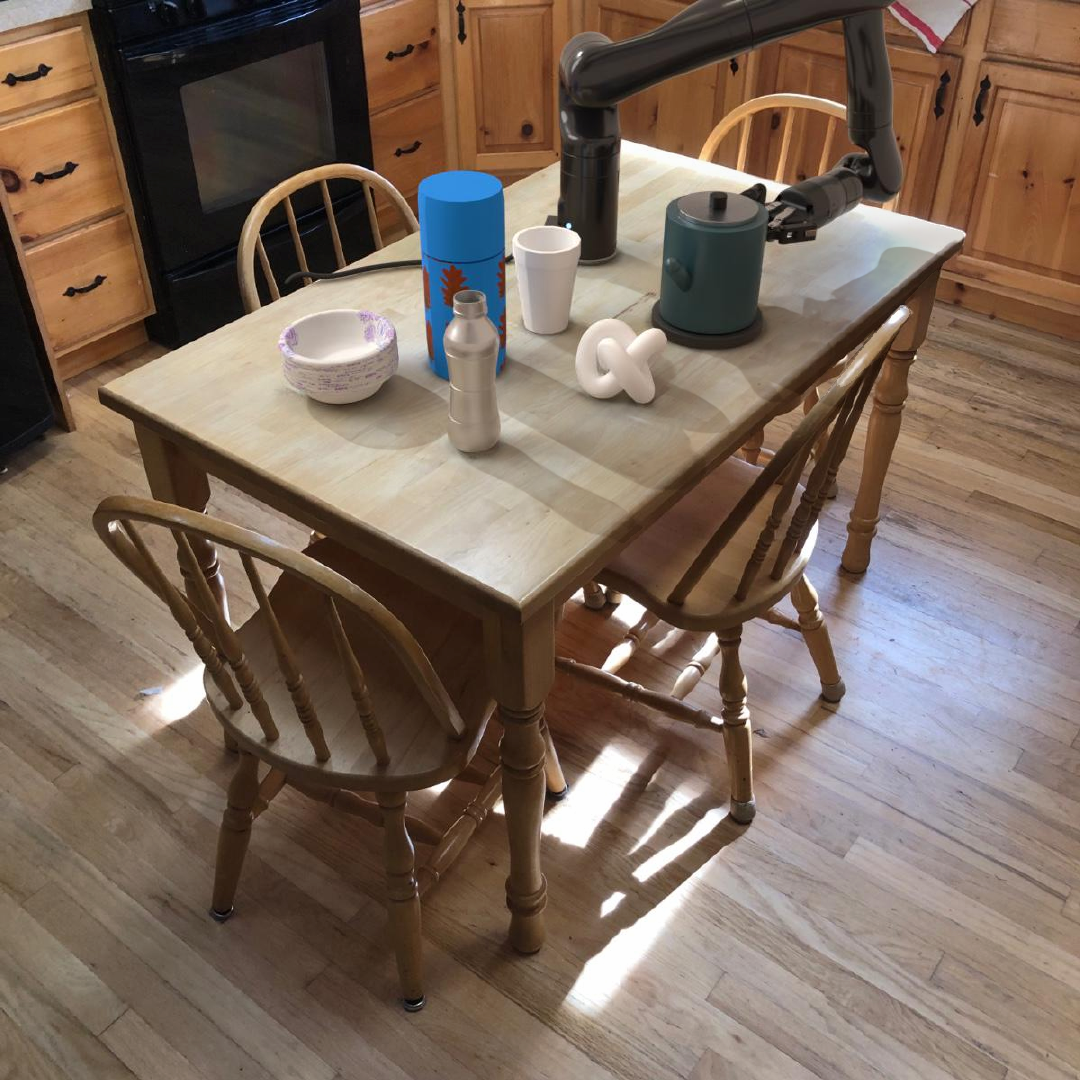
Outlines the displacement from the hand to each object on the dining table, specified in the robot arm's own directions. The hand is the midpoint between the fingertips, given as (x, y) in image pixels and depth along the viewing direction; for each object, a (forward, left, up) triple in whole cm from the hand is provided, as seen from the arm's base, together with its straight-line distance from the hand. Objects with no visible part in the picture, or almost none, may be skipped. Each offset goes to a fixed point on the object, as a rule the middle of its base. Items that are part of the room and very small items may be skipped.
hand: (742, 237), depth 171 cm
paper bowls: (-51, -33, -11) cm, 62 cm away
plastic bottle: (-31, -44, -11) cm, 55 cm away
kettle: (-4, -7, -9) cm, 12 cm away
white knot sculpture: (-14, -29, -11) cm, 34 cm away
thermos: (-36, -24, -11) cm, 45 cm away
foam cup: (-27, -11, -11) cm, 31 cm away
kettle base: (-4, -7, -10) cm, 13 cm away
